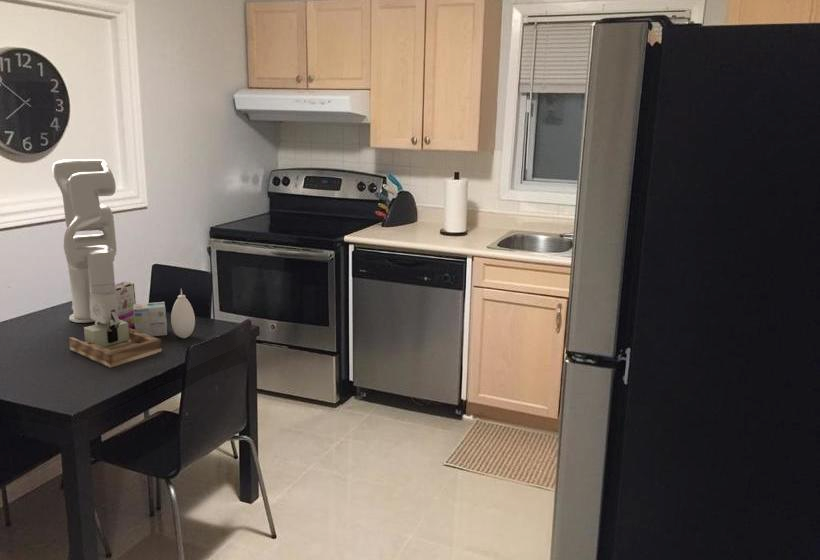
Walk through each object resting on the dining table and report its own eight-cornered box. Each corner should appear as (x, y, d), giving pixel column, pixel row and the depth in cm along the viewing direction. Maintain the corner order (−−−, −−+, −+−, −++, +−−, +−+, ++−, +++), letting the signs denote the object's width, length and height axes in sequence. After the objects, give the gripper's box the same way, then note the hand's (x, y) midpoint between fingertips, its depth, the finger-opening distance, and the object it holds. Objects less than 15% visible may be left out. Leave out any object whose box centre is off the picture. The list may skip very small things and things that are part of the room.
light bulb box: (167, 329, 238) (165, 301, 235) (167, 335, 232) (165, 306, 229) (135, 332, 234) (133, 303, 232) (135, 338, 228) (132, 308, 226)
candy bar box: (127, 323, 243) (123, 281, 238) (138, 325, 241) (135, 282, 237) (104, 333, 232) (100, 288, 228) (116, 335, 231) (112, 290, 227)
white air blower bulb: (198, 333, 234) (195, 285, 230) (192, 341, 227) (189, 291, 222) (176, 333, 234) (173, 285, 230) (169, 341, 227) (165, 291, 222)
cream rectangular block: (85, 344, 216) (83, 327, 214) (120, 335, 225) (118, 319, 223) (94, 349, 212) (93, 331, 211) (129, 339, 221) (128, 322, 220)
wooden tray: (70, 349, 216) (68, 337, 215) (121, 335, 230) (120, 324, 229) (110, 367, 203) (109, 354, 202) (161, 351, 217) (160, 339, 216)
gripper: (77, 285, 216) (82, 336, 220) (106, 295, 206) (111, 348, 211) (99, 280, 222) (104, 331, 226) (128, 290, 212) (132, 342, 216)
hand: (107, 339), depth 218 cm, fingers closed on cream rectangular block, 6 cm apart
